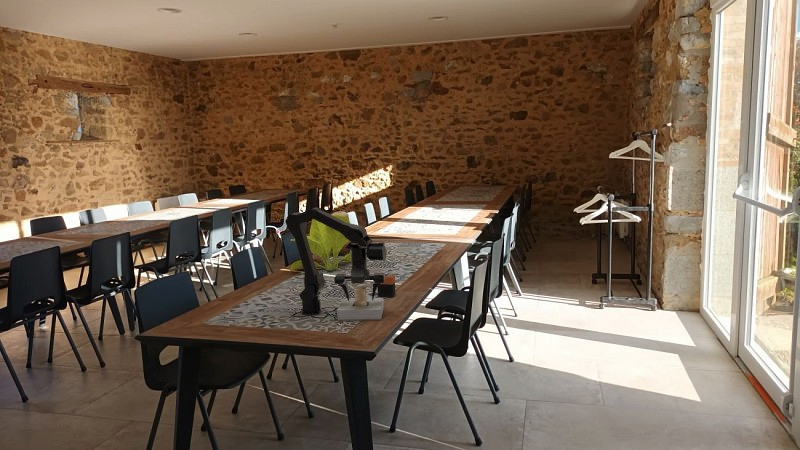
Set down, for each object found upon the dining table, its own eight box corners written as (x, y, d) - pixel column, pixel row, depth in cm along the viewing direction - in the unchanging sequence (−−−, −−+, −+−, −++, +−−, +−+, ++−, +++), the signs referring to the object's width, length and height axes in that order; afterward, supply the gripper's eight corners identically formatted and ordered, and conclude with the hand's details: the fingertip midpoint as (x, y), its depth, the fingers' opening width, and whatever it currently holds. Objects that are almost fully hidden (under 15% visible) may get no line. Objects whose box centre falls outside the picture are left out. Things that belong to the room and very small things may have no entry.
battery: (380, 294, 265) (379, 271, 264) (395, 295, 263) (395, 272, 262) (377, 297, 261) (376, 273, 260) (392, 297, 259) (391, 274, 257)
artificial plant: (376, 274, 331) (366, 225, 344) (364, 243, 292) (353, 188, 305) (299, 292, 331) (292, 242, 344) (277, 263, 292) (270, 208, 305)
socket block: (337, 320, 229) (337, 310, 229) (343, 308, 245) (342, 299, 244) (380, 320, 228) (380, 309, 228) (383, 307, 244) (383, 298, 244)
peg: (355, 314, 235) (354, 288, 233) (356, 311, 239) (355, 286, 237) (366, 314, 235) (364, 288, 233) (367, 311, 238) (365, 286, 237)
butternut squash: (325, 256, 352) (323, 213, 348) (334, 252, 365) (332, 210, 361) (348, 257, 348) (346, 213, 344) (356, 252, 361) (355, 210, 357)
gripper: (331, 265, 226) (333, 306, 228) (382, 263, 225) (383, 305, 227) (335, 259, 237) (337, 298, 239) (384, 257, 236) (385, 297, 239)
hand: (360, 300), depth 236 cm, fingers open, 9 cm apart
